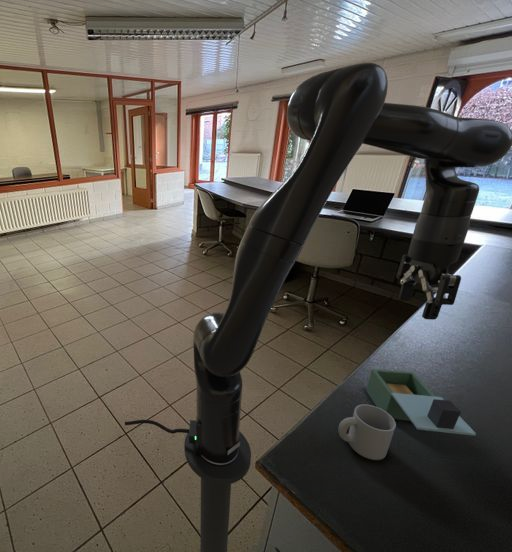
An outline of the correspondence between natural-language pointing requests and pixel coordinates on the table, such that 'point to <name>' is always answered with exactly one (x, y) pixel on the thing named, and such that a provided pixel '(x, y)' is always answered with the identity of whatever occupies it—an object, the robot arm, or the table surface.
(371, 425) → the cup
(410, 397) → the teal box lid
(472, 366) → the table surface
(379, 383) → the display box
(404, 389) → the block
